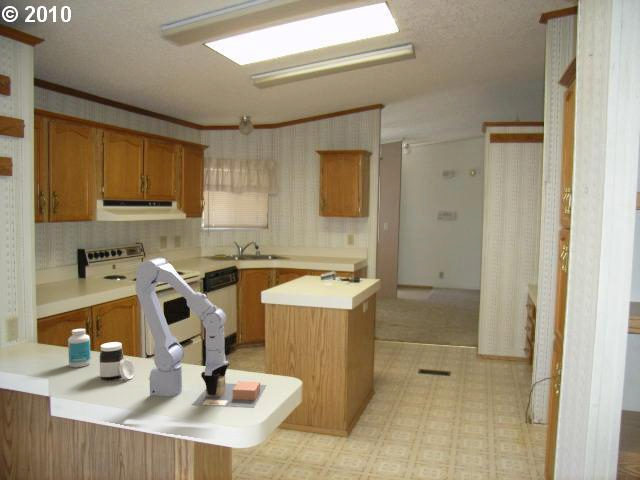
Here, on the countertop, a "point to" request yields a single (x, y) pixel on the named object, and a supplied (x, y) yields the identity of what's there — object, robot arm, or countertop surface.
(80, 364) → the pill bottle
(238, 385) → the terracotta slab
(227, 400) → the grey square mat
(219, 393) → the oak cube
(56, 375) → the countertop surface
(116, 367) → the spread jar
